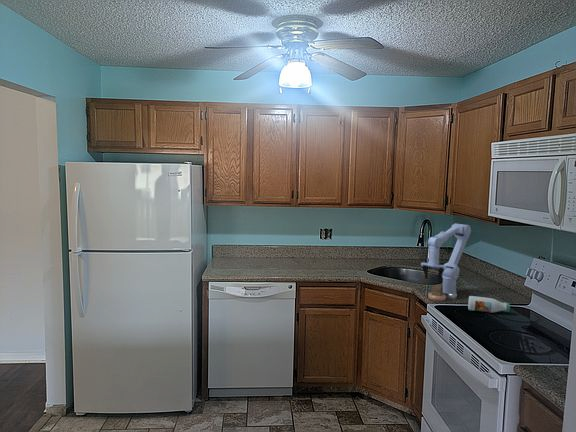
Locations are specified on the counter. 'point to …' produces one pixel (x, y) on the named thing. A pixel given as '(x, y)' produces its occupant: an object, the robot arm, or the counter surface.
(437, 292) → the walnut cube
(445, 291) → the robot arm
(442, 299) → the tan round disc
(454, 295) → the grey tin
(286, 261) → the counter surface
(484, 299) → the milk bottle
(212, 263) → the counter surface
